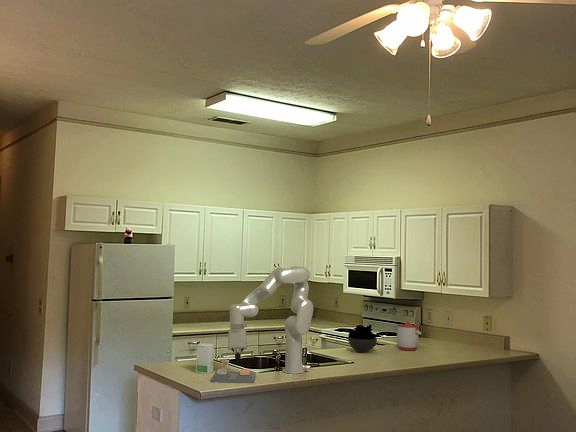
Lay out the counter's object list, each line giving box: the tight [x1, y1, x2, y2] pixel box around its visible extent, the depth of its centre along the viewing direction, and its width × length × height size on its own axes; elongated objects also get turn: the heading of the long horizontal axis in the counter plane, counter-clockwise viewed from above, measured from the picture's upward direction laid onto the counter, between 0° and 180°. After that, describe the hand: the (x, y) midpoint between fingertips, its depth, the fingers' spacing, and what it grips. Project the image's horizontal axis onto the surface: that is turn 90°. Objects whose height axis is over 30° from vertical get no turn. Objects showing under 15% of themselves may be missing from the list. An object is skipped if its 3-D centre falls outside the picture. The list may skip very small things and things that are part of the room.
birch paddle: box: [221, 359, 230, 370], centre depth 334 cm, size 4×3×6 cm
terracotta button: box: [239, 368, 251, 375], centre depth 323 cm, size 5×5×2 cm
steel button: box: [216, 368, 229, 375], centre depth 323 cm, size 5×5×2 cm
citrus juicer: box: [396, 320, 422, 352], centre depth 435 cm, size 16×17×20 cm
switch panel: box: [211, 370, 257, 384], centre depth 328 cm, size 22×19×4 cm
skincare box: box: [195, 342, 216, 375], centre depth 344 cm, size 8×7×16 cm
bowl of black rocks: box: [347, 324, 378, 353], centre depth 420 cm, size 20×20×19 cm
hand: (237, 360), depth 335 cm, fingers closed
